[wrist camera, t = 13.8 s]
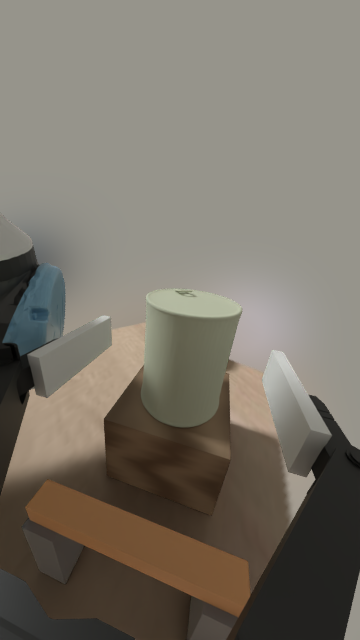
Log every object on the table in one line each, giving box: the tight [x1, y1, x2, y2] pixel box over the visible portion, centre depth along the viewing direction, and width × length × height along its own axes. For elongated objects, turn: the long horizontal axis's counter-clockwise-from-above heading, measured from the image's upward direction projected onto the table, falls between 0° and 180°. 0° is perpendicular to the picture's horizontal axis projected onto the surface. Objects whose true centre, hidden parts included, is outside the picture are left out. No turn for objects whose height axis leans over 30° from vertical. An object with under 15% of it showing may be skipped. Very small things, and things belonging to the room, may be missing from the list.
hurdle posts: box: [22, 518, 238, 640], centre depth 13 cm, size 14×2×7 cm, turn 76°
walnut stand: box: [104, 365, 231, 516], centre depth 24 cm, size 12×12×9 cm
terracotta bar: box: [25, 479, 250, 617], centre depth 11 cm, size 14×2×2 cm, turn 76°
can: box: [141, 289, 242, 428], centre depth 20 cm, size 9×9×12 cm
